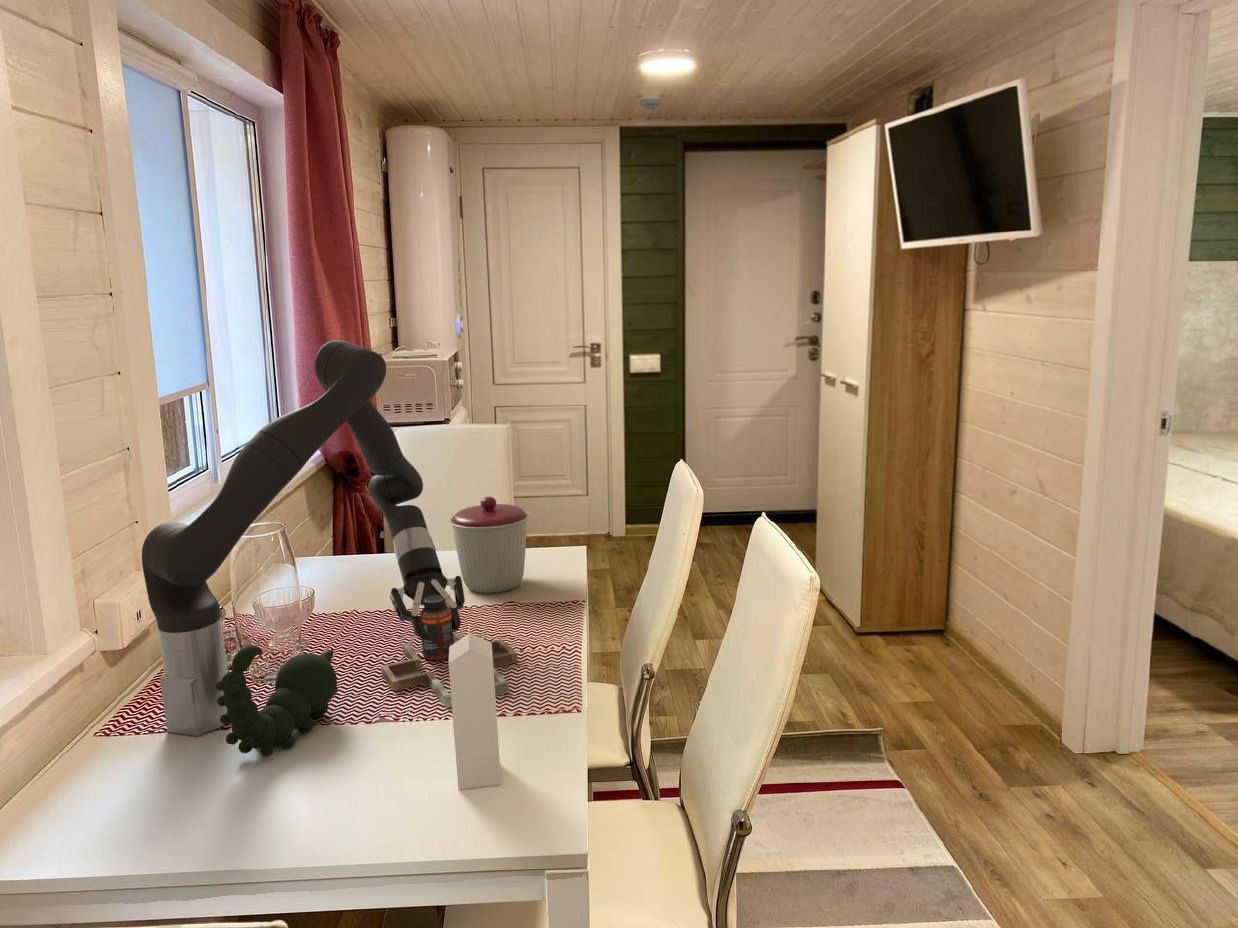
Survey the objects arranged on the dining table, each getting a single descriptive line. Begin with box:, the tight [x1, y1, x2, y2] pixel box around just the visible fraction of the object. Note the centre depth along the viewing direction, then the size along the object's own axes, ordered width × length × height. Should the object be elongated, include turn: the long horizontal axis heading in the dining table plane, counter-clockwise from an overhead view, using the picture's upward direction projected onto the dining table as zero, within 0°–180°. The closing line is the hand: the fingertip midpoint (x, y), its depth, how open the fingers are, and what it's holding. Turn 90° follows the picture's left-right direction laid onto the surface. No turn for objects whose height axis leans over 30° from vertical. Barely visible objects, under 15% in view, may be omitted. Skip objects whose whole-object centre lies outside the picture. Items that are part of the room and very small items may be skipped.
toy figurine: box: [216, 645, 339, 757], centre depth 146 cm, size 9×19×25 cm
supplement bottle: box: [419, 595, 454, 661], centre depth 175 cm, size 6×6×11 cm
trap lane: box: [380, 631, 518, 709], centre depth 169 cm, size 27×23×2 cm
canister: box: [448, 496, 531, 594], centre depth 212 cm, size 18×18×21 cm
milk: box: [448, 625, 502, 791], centre depth 131 cm, size 6×6×22 cm
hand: (439, 632), depth 174 cm, fingers closed on supplement bottle, 6 cm apart
